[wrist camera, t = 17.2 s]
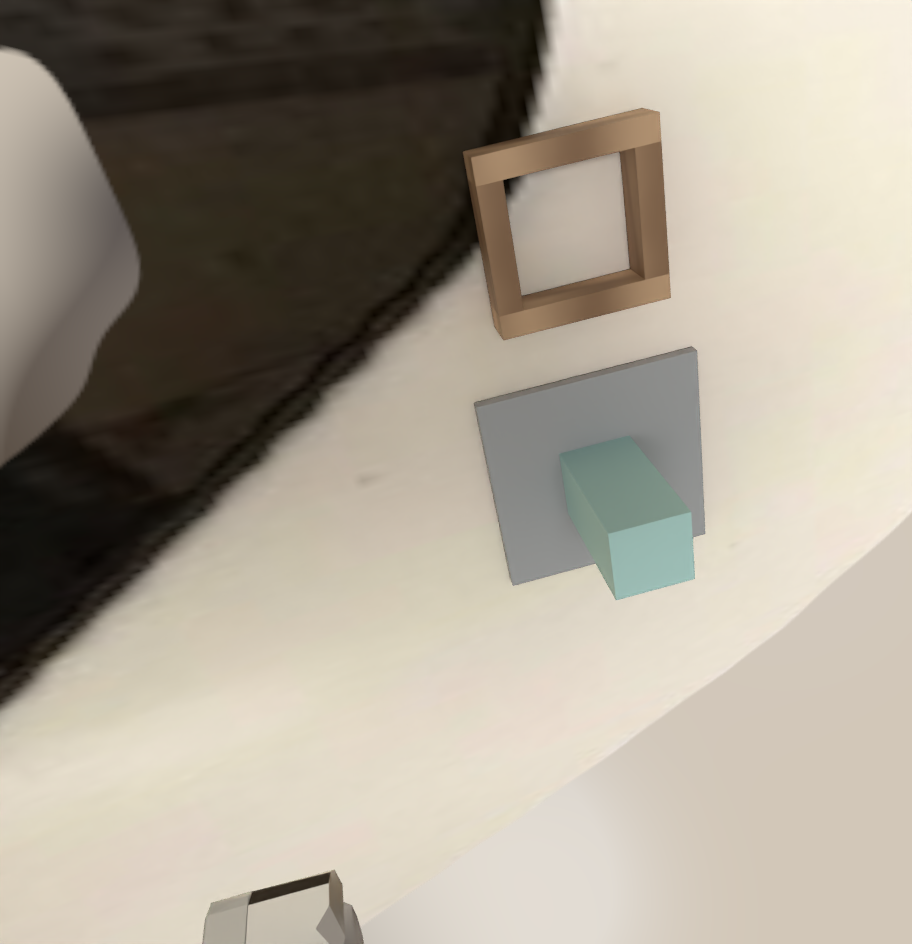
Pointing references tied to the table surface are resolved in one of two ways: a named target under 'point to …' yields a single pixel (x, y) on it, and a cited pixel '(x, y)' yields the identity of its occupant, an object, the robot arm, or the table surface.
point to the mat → (580, 425)
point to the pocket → (643, 210)
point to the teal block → (628, 517)
